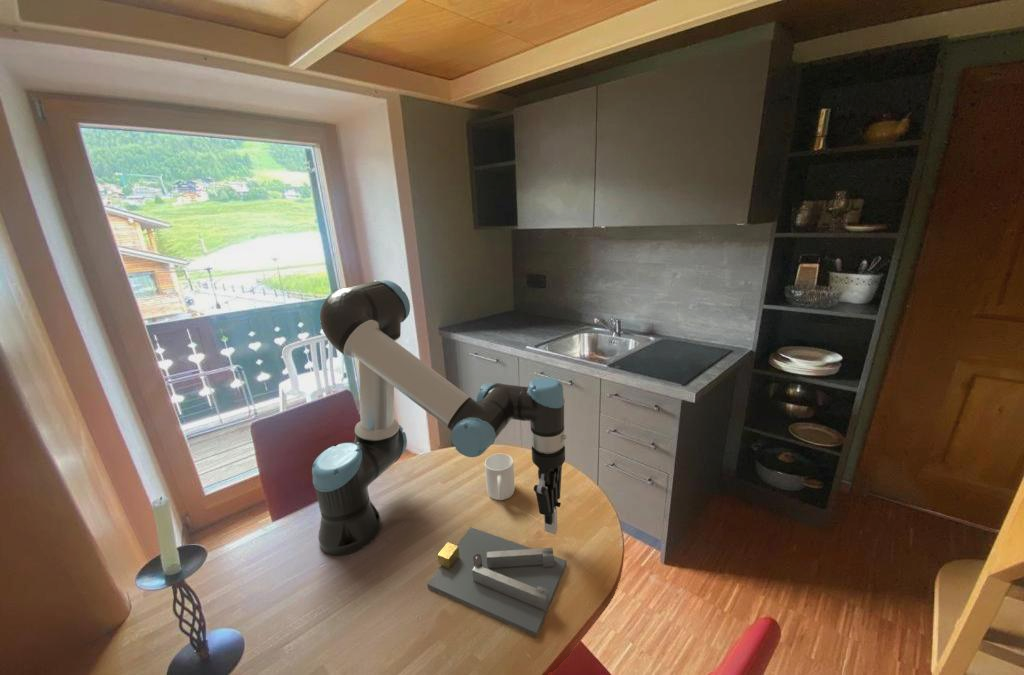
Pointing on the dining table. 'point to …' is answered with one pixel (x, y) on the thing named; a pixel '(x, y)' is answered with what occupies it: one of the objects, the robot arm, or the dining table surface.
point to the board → (488, 600)
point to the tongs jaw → (520, 558)
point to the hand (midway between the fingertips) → (551, 530)
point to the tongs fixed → (509, 585)
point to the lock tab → (448, 555)
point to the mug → (499, 476)
